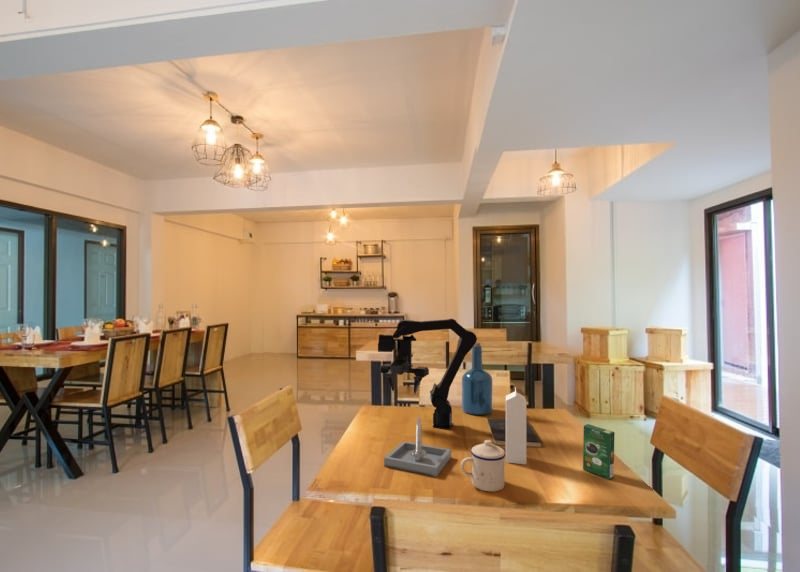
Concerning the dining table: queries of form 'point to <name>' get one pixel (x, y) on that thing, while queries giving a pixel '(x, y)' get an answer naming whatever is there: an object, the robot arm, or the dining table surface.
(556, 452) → the dining table surface
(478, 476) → the teacup with lid
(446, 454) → the tray
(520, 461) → the milk
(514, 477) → the dining table surface
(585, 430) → the coffee box
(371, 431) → the dining table surface
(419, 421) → the screw
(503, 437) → the hardcover book
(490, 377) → the wine bottle
